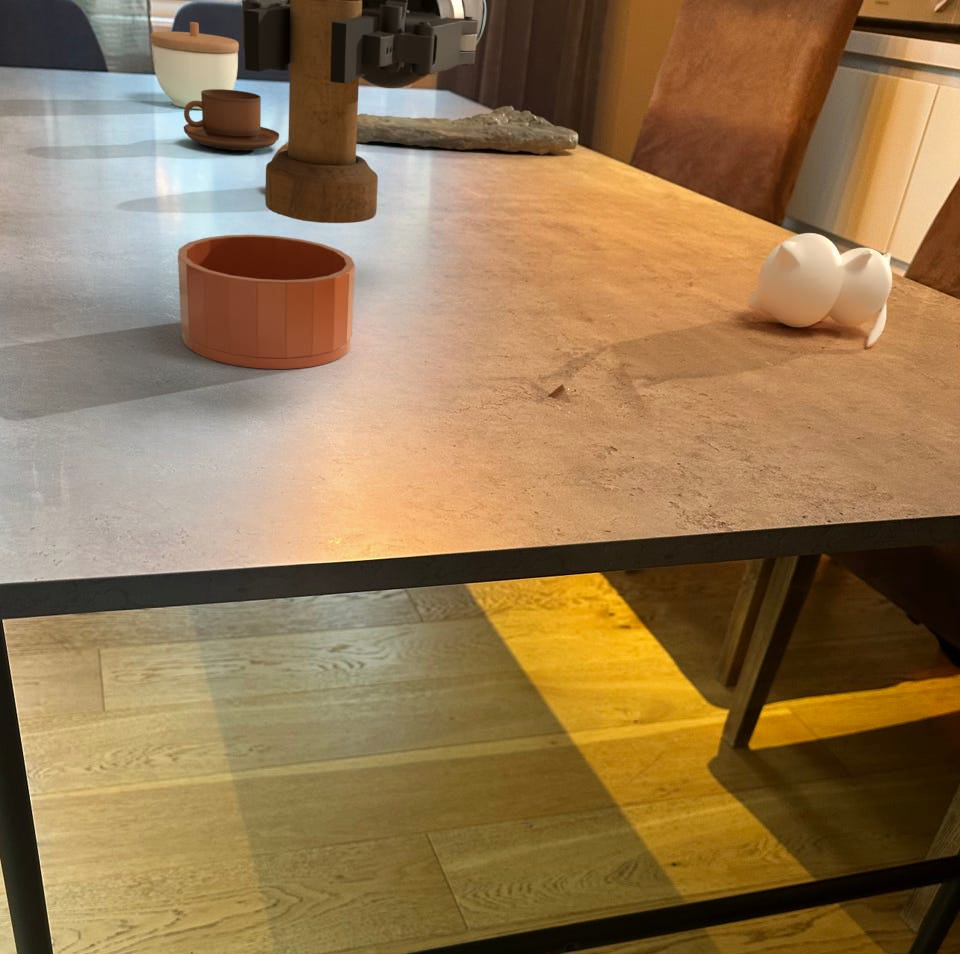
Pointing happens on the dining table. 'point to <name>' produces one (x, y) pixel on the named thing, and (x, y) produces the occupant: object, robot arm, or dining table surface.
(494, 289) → the dining table surface
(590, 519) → the dining table surface
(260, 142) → the cup and saucer
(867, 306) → the cat figurine
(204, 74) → the lidded bowl
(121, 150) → the dining table surface
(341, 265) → the crock
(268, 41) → the robot arm
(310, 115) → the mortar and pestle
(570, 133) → the long grey stone
